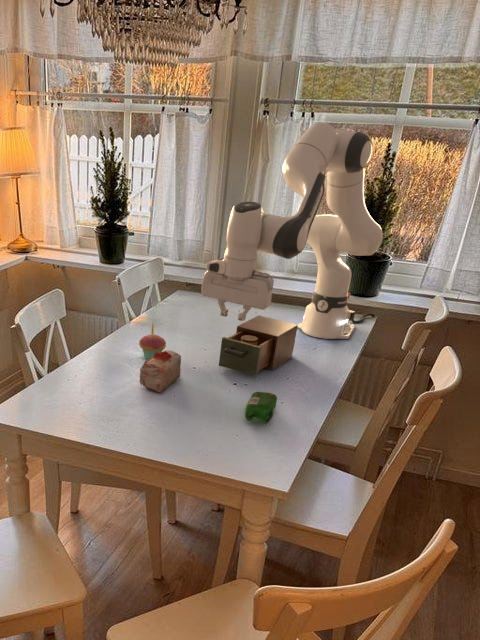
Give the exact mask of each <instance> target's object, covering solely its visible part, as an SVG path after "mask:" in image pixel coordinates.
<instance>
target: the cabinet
mask: <svg viewBox="0 0 480 640" xmlns="http://www.w3.org/2000/svg"><path fill="white" fill-rule="evenodd" d="M298 328H299V327H298V324H295V323H292V322H286V321H284V320H280V319H275V318H271V317H267V316H263V315H256V316H255V317H253V318H251V319H249V320H246V321H244V322H243V323H241V324H238V325H237V326H236V330H235V331H236V333H238V332H240V331H242V330H243V331H247V332H251V333H255V334H259V335H263V336H266V337H270V338H274V345H273V351H272V357H271V363H270V364H269V365H268V366H266V367H264V368H263V369H266V370H269V371H273V370H274V369H276V368H277V367H279V366H280V365H282V364H283V363H285V362H287V361H288V360H290V359H291V358H293V353H294V349H295V343H296V337H297V332H298ZM236 333H235V334H236Z"/></svg>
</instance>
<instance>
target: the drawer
mask: <svg viewBox="0 0 480 640" xmlns="http://www.w3.org/2000/svg"><path fill="white" fill-rule="evenodd" d="M244 335H251V336H255V337H257V338H258V342H257V346H256V345H252V344H249V343H245V342H241V337H242V336H244ZM273 345H274V338H270V337H266V336H263V335H259V334H255V333H251V332H247V331H243V330H242V331H240V332H238V333H234V334H232V335H230V336H228V337H226V336H223V337H221V343H220V352H219V360H218V367H222V368H225V369H229V370H232V371H235V372H239V373H242V374H245V375H249V376H253V377H256V376H258V374H259V373H258V372H260V371H261V370H263V369H265V368H264V367H266V366H268V365H269V364H270V363H271V357H272V351H273Z"/></svg>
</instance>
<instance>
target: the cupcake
mask: <svg viewBox="0 0 480 640" xmlns="http://www.w3.org/2000/svg"><path fill="white" fill-rule="evenodd" d="M154 326H155V324H154V322H152V323H151V329H150V330H151V333H150V334H147V335H145V336H142V337H141V338H140V339H139V341H138V346H139V347H140V348H141V349H142V352H143V357H144V358H145V360H148V359H149V358H150V359H149V360H151V359H152V358H154V351H155V350H156V351H157V352H158V353H159V352H163V351H164V350H165V349H166V346H167V342H166V340H165V339H164V337H162V336H160V335H158V334H154V330H155V329H154V328H155V327H154Z"/></svg>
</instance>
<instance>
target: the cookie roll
mask: <svg viewBox="0 0 480 640" xmlns="http://www.w3.org/2000/svg"><path fill="white" fill-rule="evenodd" d="M241 342H245V343H249V344H252V345H256V346H257V342H258V338H257V337H255V336H251V335H244V336H242V337H241Z"/></svg>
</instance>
